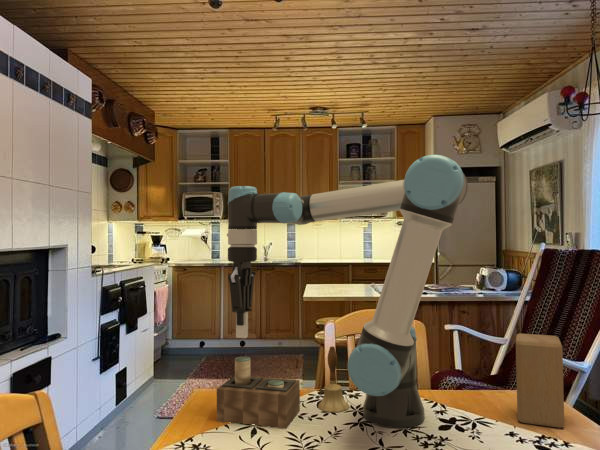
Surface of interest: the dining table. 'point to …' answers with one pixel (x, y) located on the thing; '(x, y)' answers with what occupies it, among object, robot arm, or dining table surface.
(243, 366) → the peg
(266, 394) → the socket block
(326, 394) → the hand bell
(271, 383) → the peg
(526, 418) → the block
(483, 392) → the dining table surface
